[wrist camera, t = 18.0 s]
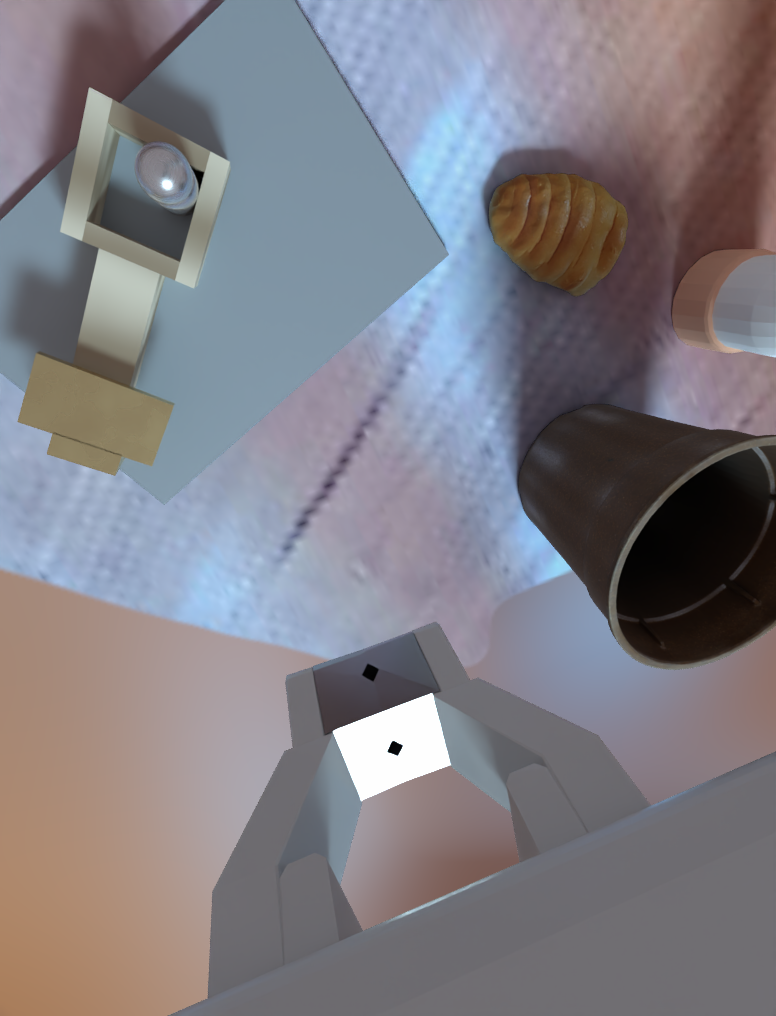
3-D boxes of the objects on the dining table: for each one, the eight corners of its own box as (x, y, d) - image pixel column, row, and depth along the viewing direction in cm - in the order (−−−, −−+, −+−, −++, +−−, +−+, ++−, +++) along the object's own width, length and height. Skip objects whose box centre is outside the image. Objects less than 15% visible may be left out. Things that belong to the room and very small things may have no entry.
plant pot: (465, 538, 45) (568, 664, 31) (536, 354, 40) (701, 407, 26) (609, 561, 51) (752, 676, 37) (689, 403, 45) (893, 468, 31)
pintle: (178, 156, 28) (158, 121, 21) (211, 197, 30) (203, 177, 22) (147, 186, 29) (116, 162, 22) (180, 225, 30) (162, 215, 23)
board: (267, -37, 27) (268, -43, 26) (445, 254, 35) (448, 254, 34) (-80, 303, 29) (-85, 304, 28) (165, 501, 37) (164, 504, 36)
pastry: (467, 259, 36) (491, 258, 32) (502, 147, 33) (532, 134, 30) (576, 299, 39) (608, 302, 35) (615, 200, 36) (653, 194, 33)
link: (103, 103, 27) (89, 87, 24) (230, 170, 29) (230, 161, 27) (43, 388, 32) (26, 400, 29) (157, 424, 34) (150, 438, 31)
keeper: (64, 339, 31) (35, 353, 27) (182, 387, 34) (173, 405, 30) (41, 418, 33) (11, 443, 28) (156, 457, 36) (145, 485, 31)
